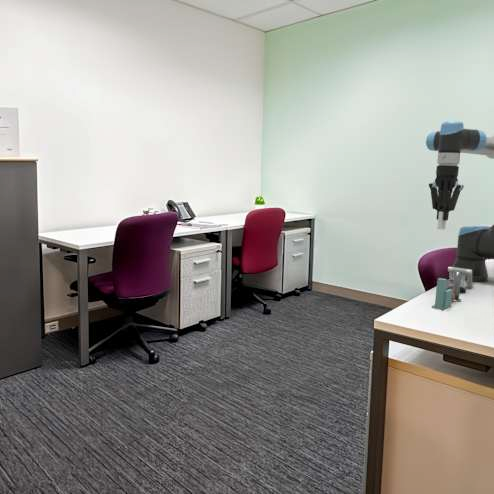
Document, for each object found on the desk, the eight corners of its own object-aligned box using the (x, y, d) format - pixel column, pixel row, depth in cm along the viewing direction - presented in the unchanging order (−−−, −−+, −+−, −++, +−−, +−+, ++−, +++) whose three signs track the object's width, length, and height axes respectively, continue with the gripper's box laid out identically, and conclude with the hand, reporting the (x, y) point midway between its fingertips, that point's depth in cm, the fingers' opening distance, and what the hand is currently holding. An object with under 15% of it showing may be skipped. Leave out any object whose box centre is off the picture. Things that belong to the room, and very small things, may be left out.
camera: (457, 295, 179) (458, 284, 178) (436, 288, 188) (437, 278, 187) (466, 294, 181) (468, 283, 180) (445, 287, 190) (446, 277, 190)
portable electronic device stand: (472, 288, 190) (475, 267, 189) (467, 291, 184) (470, 270, 183) (450, 284, 195) (452, 264, 194) (445, 287, 189) (447, 267, 188)
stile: (439, 304, 164) (442, 275, 162) (450, 306, 161) (453, 278, 160) (431, 307, 159) (434, 278, 158) (443, 310, 157) (446, 280, 155)
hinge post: (451, 298, 172) (454, 270, 171) (462, 300, 170) (465, 272, 168) (447, 300, 170) (450, 271, 168) (458, 302, 167) (461, 273, 165)
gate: (450, 299, 169) (452, 282, 168) (454, 300, 167) (456, 283, 166) (437, 304, 161) (439, 287, 160) (442, 305, 160) (444, 288, 159)
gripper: (426, 164, 176) (419, 227, 180) (458, 165, 165) (451, 231, 169) (437, 165, 180) (431, 226, 184) (470, 165, 170) (463, 230, 173)
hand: (441, 228), depth 177 cm, fingers closed
